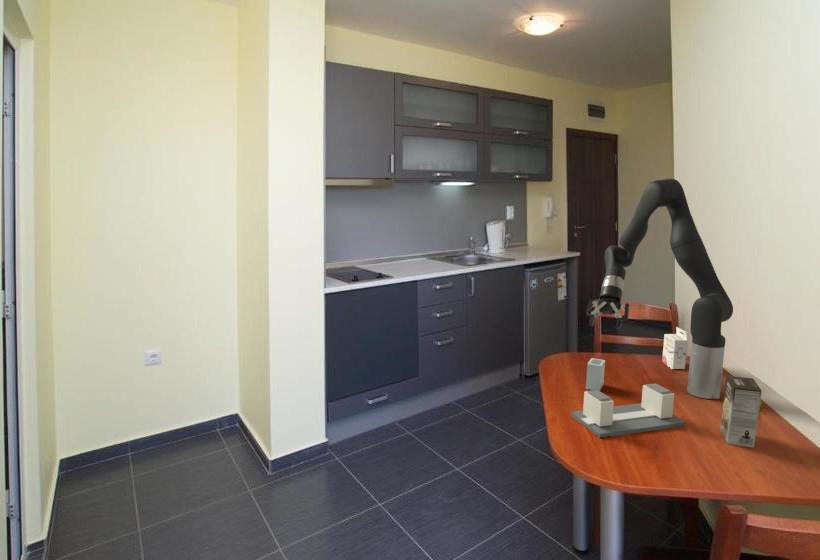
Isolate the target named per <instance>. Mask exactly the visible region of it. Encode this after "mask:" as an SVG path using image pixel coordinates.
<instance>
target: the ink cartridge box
mask: <svg viewBox="0 0 820 560" xmlns="http://www.w3.org/2000/svg"><path fill="white" fill-rule="evenodd" d="M675 329H676V332H675V333H665V334H663V335H664V336H663V346H662V347H663V349H662V358H661V359H662V360H661V363H662V362H663V365H666V366H667V367H668V368H669V367H670V368H669V369H670V370H672V369H686V359H687V350H688V332H687V331H685V330H684V329H682V328H680V327H679V326H676V327H675Z"/></svg>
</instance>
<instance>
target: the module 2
mask: <svg viewBox="0 0 820 560" xmlns="http://www.w3.org/2000/svg"><path fill="white" fill-rule="evenodd" d="M674 402H675V393H673V392H671V390H669V389H668V388H665V387H664V386H662V385H660V384H658V383H656V382H655V383H647V384H643V385H642V393H641V402H640V403H641V407H642V408H644V409H645V410H647V411H649V412H650V413H652V414H654V415H655V416H657V417H659V418H660V419H661V418H668V417H672V415H673V414H674V413H673V411H674Z"/></svg>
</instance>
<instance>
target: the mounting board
mask: <svg viewBox="0 0 820 560" xmlns="http://www.w3.org/2000/svg"><path fill="white" fill-rule="evenodd" d="M570 416H571V417H572V418H573V419H575V420H576V421H577V422H578V421H579V424H581V423H582V424H583V427H585V426H586V427H587V428H588V429H587V428H586V427H585V428H586V429H587V430H589V431H590V430H591V431H592V432H591V431H590V432H591V433H593V434H594V435H595V436H596V435H597V438H599V439H601V438H600V437H603V438H608V437H607V436H610V437H616V436H623V435H624V436H625V435H631V434H638V433H646V432H652V431H659V430H660V431H661V430H667V429H673V428H681V427H682V428H683V427H686V426H687V425H686V424H687V423H686V421H685V420H684V419H681V418H679V417H677V416H676V415H674V414H672V417H668V418H661V419H660V418H659V417H657V416H655V415H654V414H652V413H650V412H649V411H647V410H645V409H644V408H642V407H641V402H640V403H632V404H624V405H617V406H616V405H614V407H613V420H612V425H608V426H598V425H597V424H595V423H594V422H593V421H591V420H590V419H589V418H587V417H586V416H585V415H583V409H582V410H575V411H571V412H570ZM582 424H581V425H582Z"/></svg>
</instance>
